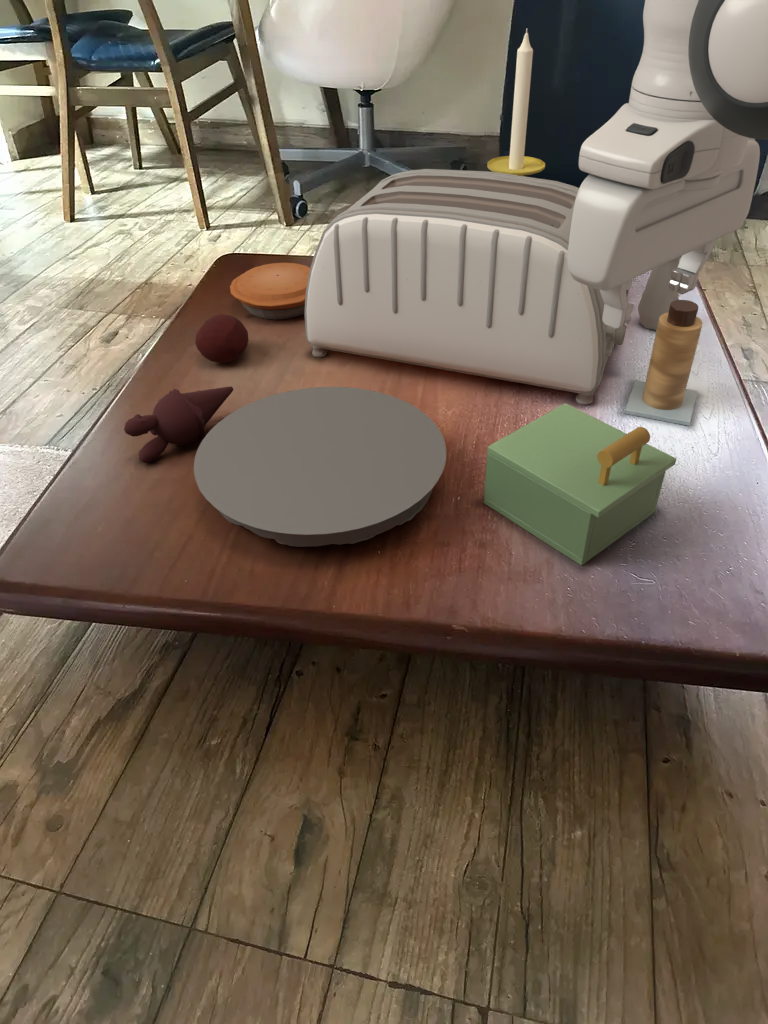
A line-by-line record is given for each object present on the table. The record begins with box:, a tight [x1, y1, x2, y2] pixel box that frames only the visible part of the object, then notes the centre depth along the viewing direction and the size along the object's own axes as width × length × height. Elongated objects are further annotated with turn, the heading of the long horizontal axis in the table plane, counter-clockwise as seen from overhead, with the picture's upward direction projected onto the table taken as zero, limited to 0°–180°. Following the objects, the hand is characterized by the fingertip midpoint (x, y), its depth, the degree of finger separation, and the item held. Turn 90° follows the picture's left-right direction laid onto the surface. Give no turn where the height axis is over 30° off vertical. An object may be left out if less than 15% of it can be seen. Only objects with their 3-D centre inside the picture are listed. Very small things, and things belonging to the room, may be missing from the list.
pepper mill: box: [642, 299, 704, 410], centre depth 97 cm, size 5×5×13 cm
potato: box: [194, 313, 249, 364], centre depth 112 cm, size 8×9×6 cm
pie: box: [229, 262, 311, 321], centre depth 125 cm, size 15×16×5 cm
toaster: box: [304, 168, 629, 406], centre depth 106 cm, size 21×45×22 cm, turn 68°
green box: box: [483, 452, 667, 567], centre depth 83 cm, size 14×13×7 cm
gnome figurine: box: [123, 386, 234, 464], centre depth 96 cm, size 7×7×15 cm
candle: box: [486, 28, 546, 177], centre depth 115 cm, size 10×10×38 cm
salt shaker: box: [637, 256, 682, 331], centre depth 114 cm, size 6×6×13 cm
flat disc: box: [193, 386, 447, 548], centre depth 88 cm, size 28×28×4 cm
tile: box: [623, 379, 699, 427], centre depth 101 cm, size 8×8×1 cm
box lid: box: [486, 402, 677, 517], centre depth 79 cm, size 14×13×5 cm
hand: (649, 306), depth 67 cm, fingers open, 8 cm apart
